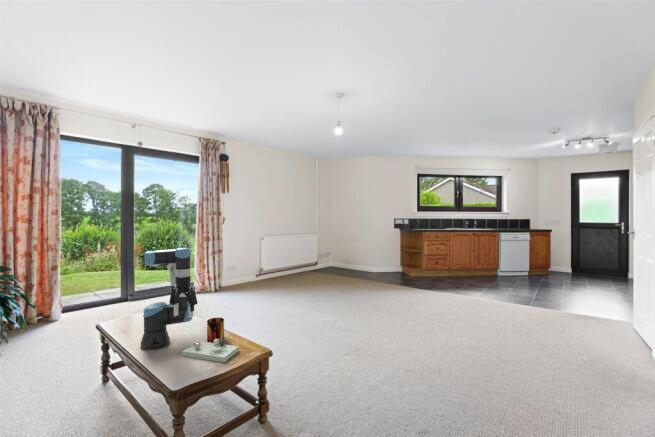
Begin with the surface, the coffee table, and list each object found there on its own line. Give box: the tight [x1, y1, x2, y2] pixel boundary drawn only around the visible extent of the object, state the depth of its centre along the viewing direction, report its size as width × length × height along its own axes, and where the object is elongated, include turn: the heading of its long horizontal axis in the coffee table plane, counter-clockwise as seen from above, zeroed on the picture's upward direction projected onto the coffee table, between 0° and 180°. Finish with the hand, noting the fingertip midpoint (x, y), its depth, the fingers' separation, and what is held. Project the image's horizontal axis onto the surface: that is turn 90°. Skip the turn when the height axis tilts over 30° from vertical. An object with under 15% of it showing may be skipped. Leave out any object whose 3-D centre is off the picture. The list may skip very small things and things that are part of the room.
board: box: [181, 340, 240, 363], centre depth 179 cm, size 26×14×2 cm, turn 74°
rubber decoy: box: [219, 339, 226, 346], centre depth 183 cm, size 3×3×3 cm
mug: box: [206, 317, 225, 343], centre depth 195 cm, size 10×14×12 cm
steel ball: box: [194, 342, 201, 349], centre depth 178 cm, size 3×3×3 cm
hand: (183, 316), depth 180 cm, fingers open, 9 cm apart
